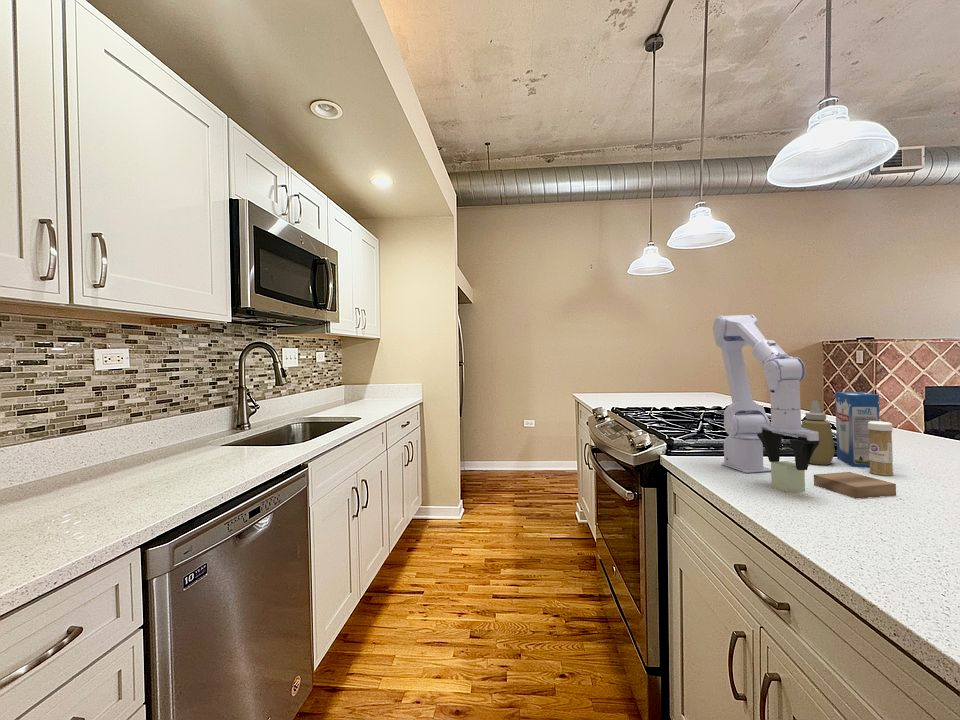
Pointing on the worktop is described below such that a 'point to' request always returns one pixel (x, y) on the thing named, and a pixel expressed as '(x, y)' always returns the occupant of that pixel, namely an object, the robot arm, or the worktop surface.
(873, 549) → the worktop surface
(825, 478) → the walnut block
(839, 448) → the milk carton
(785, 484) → the sage block
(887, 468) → the sprinkles bottle
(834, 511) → the worktop surface
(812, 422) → the squeeze bottle
